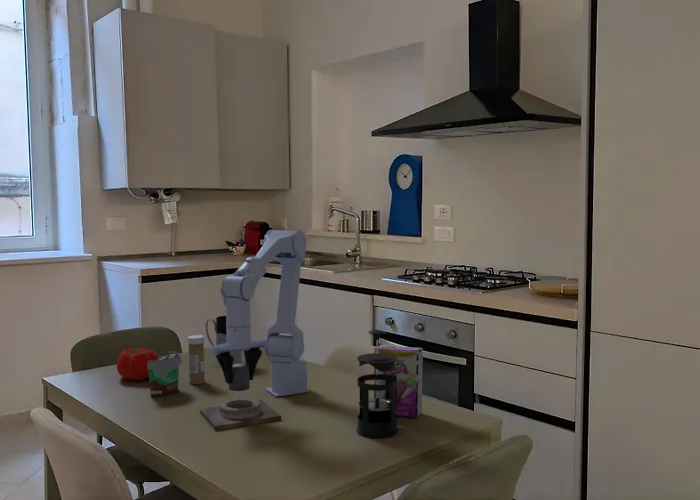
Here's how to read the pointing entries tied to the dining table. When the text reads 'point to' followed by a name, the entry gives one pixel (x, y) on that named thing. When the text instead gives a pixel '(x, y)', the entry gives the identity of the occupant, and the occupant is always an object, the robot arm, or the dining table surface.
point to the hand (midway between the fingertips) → (239, 381)
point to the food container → (164, 374)
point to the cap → (240, 377)
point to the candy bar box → (405, 379)
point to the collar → (239, 413)
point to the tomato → (135, 363)
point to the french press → (377, 411)
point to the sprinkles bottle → (196, 359)
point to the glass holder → (222, 338)
